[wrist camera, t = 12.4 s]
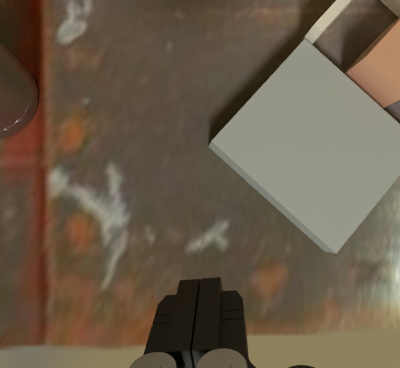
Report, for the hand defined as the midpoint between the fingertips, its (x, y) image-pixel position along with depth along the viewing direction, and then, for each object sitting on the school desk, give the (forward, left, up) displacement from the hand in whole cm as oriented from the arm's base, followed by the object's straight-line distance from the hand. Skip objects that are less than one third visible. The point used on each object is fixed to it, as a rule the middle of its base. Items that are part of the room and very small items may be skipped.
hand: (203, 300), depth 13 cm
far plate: (+4, +18, -27) cm, 33 cm away
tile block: (+4, +27, -24) cm, 37 cm away
